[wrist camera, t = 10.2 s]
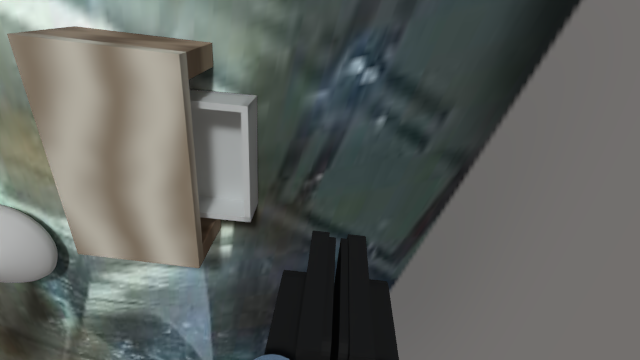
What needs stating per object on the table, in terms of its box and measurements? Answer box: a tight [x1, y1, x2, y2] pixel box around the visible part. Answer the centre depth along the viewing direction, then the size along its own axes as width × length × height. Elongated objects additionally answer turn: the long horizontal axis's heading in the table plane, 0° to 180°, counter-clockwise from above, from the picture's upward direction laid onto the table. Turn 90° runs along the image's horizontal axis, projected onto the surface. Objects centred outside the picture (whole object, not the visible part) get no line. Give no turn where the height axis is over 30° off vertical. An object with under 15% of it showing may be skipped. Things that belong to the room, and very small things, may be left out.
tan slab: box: [7, 27, 221, 268], centre depth 31 cm, size 12×20×7 cm, turn 174°
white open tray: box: [189, 89, 258, 222], centre depth 32 cm, size 14×12×4 cm
